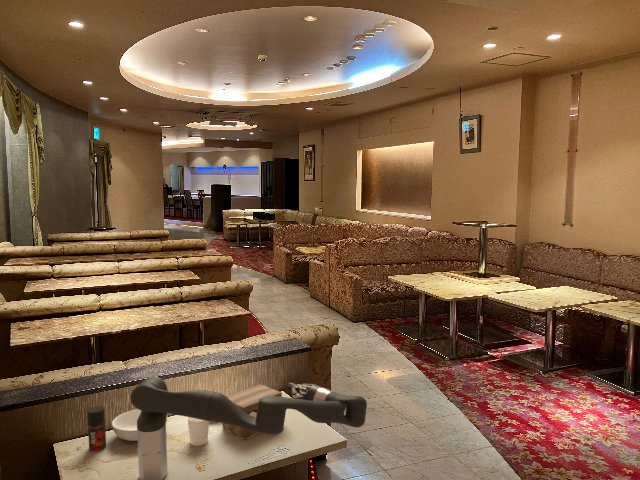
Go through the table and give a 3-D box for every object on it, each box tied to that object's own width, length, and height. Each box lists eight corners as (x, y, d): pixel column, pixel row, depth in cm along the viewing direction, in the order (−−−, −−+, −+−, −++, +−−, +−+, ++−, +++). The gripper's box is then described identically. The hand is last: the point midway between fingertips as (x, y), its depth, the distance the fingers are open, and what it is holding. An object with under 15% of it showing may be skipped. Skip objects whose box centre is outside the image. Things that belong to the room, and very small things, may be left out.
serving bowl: (174, 422, 206) (174, 407, 205) (157, 448, 185) (156, 430, 184) (125, 422, 206) (125, 407, 206) (102, 448, 185) (102, 430, 185)
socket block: (282, 422, 205) (281, 392, 204) (244, 439, 190) (243, 407, 189) (260, 412, 214) (260, 384, 213) (222, 428, 200) (221, 397, 199)
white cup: (204, 447, 185) (203, 422, 184) (184, 445, 186) (184, 420, 185) (212, 437, 192) (212, 413, 192) (194, 435, 194) (193, 411, 193)
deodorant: (87, 452, 182) (85, 413, 181) (90, 444, 188) (88, 407, 186) (105, 450, 183) (103, 411, 182) (107, 442, 189) (105, 405, 188)
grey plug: (258, 421, 194) (258, 411, 194) (250, 425, 191) (249, 414, 190) (243, 414, 201) (242, 404, 200) (234, 417, 198) (234, 407, 197)
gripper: (333, 383, 186) (300, 372, 198) (308, 393, 177) (276, 380, 188) (332, 402, 187) (300, 389, 199) (308, 413, 177) (276, 399, 189)
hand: (289, 385), depth 193 cm, fingers closed
